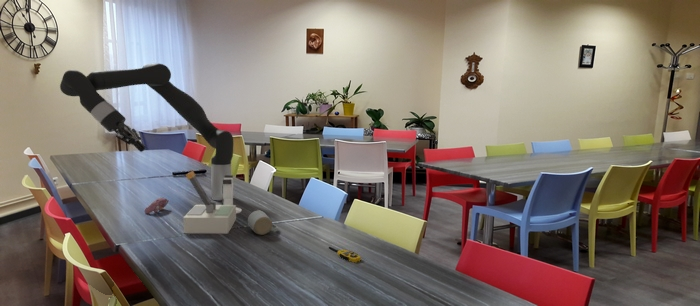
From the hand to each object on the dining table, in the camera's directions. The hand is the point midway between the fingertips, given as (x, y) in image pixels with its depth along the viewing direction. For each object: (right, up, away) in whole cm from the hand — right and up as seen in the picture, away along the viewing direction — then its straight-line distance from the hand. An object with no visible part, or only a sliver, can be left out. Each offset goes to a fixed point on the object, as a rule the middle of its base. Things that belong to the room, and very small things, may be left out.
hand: (143, 150), depth 163 cm
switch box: (+23, -30, +7) cm, 38 cm away
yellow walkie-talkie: (+75, -36, -18) cm, 85 cm away
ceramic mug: (+44, -31, +2) cm, 54 cm away
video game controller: (-5, -26, +23) cm, 36 cm away
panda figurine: (+24, -27, +28) cm, 45 cm away
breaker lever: (+23, -23, +6) cm, 33 cm away
